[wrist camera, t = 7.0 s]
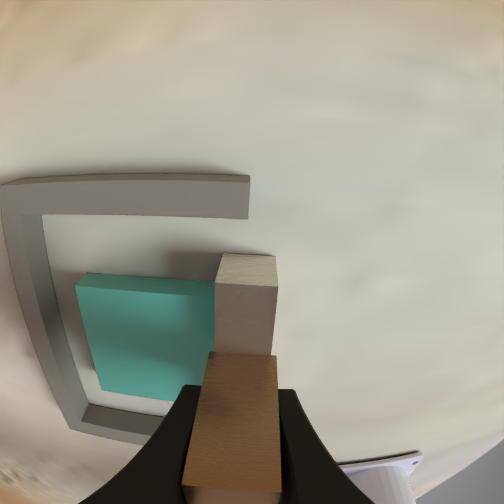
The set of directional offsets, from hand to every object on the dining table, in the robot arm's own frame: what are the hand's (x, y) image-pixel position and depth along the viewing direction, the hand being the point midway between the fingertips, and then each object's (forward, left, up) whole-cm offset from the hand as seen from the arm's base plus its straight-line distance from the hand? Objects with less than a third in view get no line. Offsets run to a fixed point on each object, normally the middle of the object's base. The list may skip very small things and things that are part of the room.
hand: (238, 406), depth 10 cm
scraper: (0, 0, -4) cm, 4 cm away
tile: (0, +4, -4) cm, 6 cm away
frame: (0, +4, -4) cm, 6 cm away
